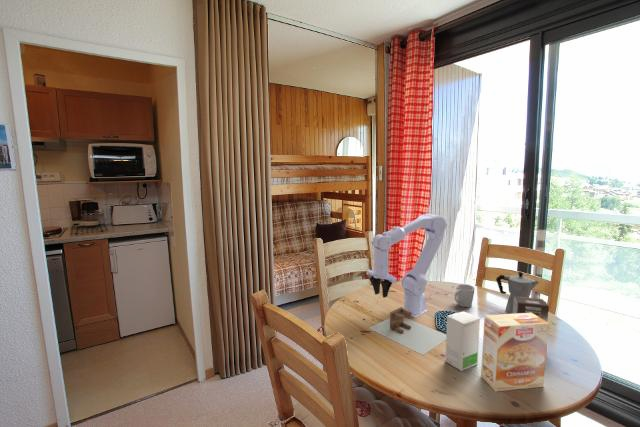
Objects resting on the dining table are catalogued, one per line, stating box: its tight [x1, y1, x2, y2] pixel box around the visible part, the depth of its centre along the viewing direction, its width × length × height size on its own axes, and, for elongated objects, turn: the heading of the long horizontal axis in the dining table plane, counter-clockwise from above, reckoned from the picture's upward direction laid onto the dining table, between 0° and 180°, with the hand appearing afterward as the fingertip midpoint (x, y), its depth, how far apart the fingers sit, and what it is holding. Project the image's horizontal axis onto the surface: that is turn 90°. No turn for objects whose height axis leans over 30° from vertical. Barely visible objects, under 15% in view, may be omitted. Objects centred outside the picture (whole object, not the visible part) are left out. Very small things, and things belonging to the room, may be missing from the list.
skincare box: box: [444, 310, 481, 372], centre depth 100 cm, size 8×7×16 cm
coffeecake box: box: [480, 312, 550, 392], centre depth 90 cm, size 15×7×20 cm, turn 96°
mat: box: [368, 316, 446, 356], centre depth 119 cm, size 18×24×1 cm
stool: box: [389, 307, 412, 334], centre depth 122 cm, size 5×7×7 cm
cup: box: [453, 283, 476, 308], centre depth 142 cm, size 8×10×8 cm
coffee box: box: [513, 296, 550, 322], centre depth 110 cm, size 9×6×16 cm
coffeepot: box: [496, 271, 540, 314], centre depth 134 cm, size 15×9×18 cm, turn 59°
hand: (381, 295), depth 131 cm, fingers open, 4 cm apart
